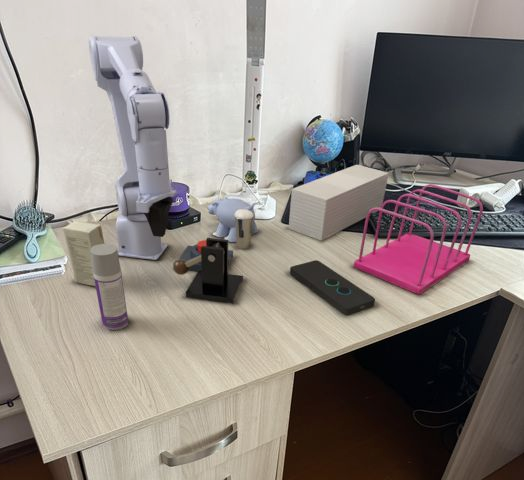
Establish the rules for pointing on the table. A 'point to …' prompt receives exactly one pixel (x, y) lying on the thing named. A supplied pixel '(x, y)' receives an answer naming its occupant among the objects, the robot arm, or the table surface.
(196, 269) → the button box
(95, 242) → the cosmetic box
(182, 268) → the lever
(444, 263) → the file sorter
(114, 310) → the container
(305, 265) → the smart home device
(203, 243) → the button
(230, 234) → the hippopotamus toy
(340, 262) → the table surface
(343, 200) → the stack of papers
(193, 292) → the switch bracket
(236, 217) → the milkshake
